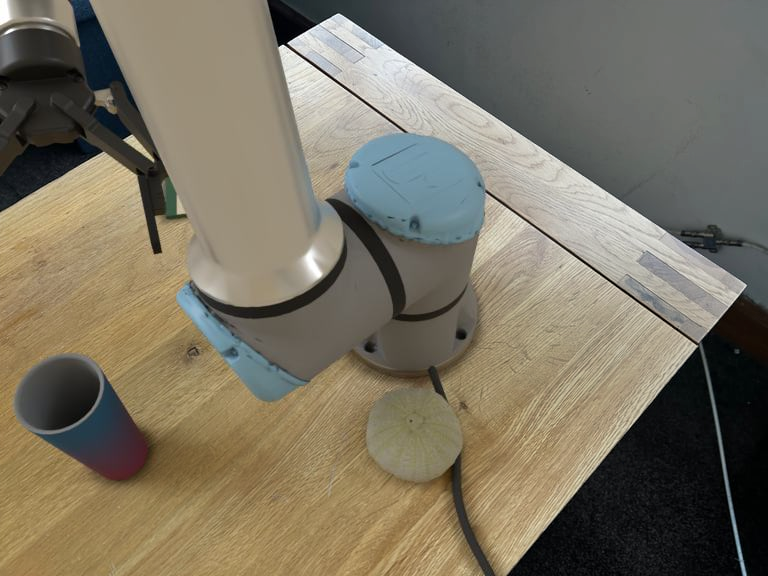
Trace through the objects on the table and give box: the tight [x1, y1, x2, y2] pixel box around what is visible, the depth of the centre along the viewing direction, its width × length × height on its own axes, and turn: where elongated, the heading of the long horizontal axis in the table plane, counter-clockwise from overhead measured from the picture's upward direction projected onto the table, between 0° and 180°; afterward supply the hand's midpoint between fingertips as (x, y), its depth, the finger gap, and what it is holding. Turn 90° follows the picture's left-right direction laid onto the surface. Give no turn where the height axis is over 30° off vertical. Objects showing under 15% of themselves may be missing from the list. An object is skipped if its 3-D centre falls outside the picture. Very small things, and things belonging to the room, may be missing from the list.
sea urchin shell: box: [365, 387, 464, 484], centre depth 63 cm, size 9×8×8 cm
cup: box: [12, 352, 149, 481], centre depth 57 cm, size 7×7×15 cm
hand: (74, 263), depth 56 cm, fingers open, 13 cm apart
